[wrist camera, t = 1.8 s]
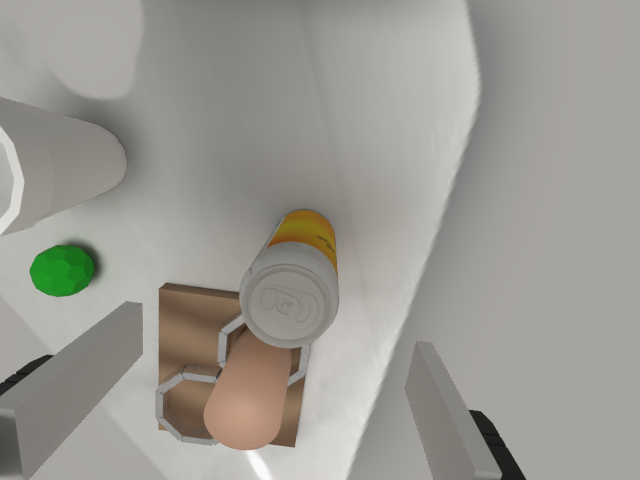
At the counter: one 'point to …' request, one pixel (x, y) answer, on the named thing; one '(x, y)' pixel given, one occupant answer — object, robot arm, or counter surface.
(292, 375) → the socket collars
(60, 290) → the polyhedron
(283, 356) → the pin
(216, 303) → the pin board
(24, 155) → the foam cup
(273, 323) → the beer can
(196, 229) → the counter surface
